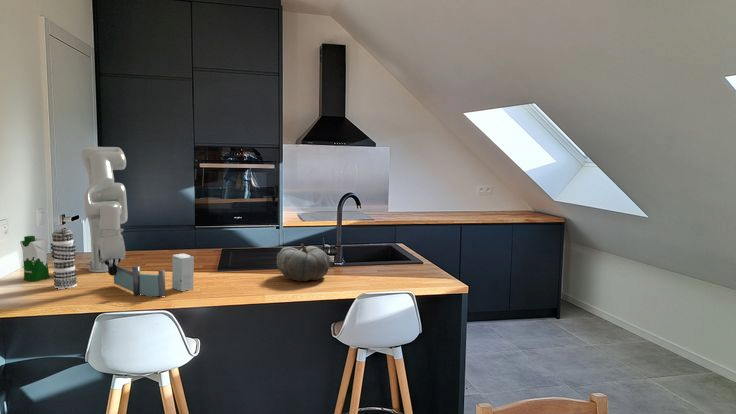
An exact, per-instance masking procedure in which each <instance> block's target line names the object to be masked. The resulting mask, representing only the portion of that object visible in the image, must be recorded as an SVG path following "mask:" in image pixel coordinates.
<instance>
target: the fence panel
mask: <svg viewBox="0 0 736 414" xmlns="http://www.w3.org/2000/svg"><path fill="white" fill-rule="evenodd" d="M157 272H158V274H153V273H152V274H150V273H140V294H141V295H146V296H145V297H152V296H160V297H162V296H166V272H165V269H159V270H158V271H157ZM141 295H140V296H141ZM160 297H159V298H160Z"/></svg>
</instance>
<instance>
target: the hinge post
mask: <svg viewBox="0 0 736 414" xmlns="http://www.w3.org/2000/svg"><path fill="white" fill-rule="evenodd" d="M131 271H132V274H133V292H132V293H133V296H134V295H140V274H141V267H140V266H139V265H133V266H132V268H131ZM140 296H141V295H140Z"/></svg>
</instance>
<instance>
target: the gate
mask: <svg viewBox="0 0 736 414" xmlns="http://www.w3.org/2000/svg"><path fill="white" fill-rule="evenodd" d="M113 284H114V285H117V286H119V287H121V288H123V289H125V290H128V291H131V292H132V293H133V274H132V269H127V268H126V267H122V266H120V265H119V264H118V265H117V273H116V275H114V276H113Z"/></svg>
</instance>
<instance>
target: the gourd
mask: <svg viewBox="0 0 736 414" xmlns="http://www.w3.org/2000/svg"><path fill="white" fill-rule="evenodd" d="M300 246H301V248H300V249H298V248H294V247H292V246H287V247H286V246H285V247H283V248H281V250H280V251H279V252H278V253H277V255H276V267H277V270H279V272H280V273H281V274H282V275H283V276H285V277H286V278H288V279H290V280H294V281H297V282H307V281H309V280H310V281H317V280H321V279H322V278H323V277H325V276H326V275H327V273H328V271H329V269H330V265H331V263H330V262H331V260H330V257H329V255H328V254H327V253H326V252H325V251H324V250H323V249H321V248H320V247H318V246H313V245H309V246H306V247H305V245H304V243H300Z"/></svg>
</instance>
